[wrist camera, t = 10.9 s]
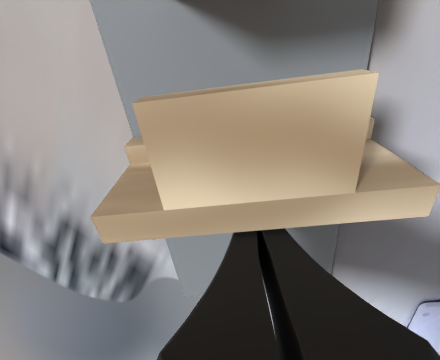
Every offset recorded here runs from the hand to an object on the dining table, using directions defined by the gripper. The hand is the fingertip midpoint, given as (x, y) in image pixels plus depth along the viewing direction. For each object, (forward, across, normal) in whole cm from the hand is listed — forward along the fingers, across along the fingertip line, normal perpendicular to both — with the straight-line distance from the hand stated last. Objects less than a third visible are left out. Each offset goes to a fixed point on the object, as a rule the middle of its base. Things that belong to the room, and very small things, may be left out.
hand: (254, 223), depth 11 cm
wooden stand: (+3, 0, -3) cm, 4 cm away
